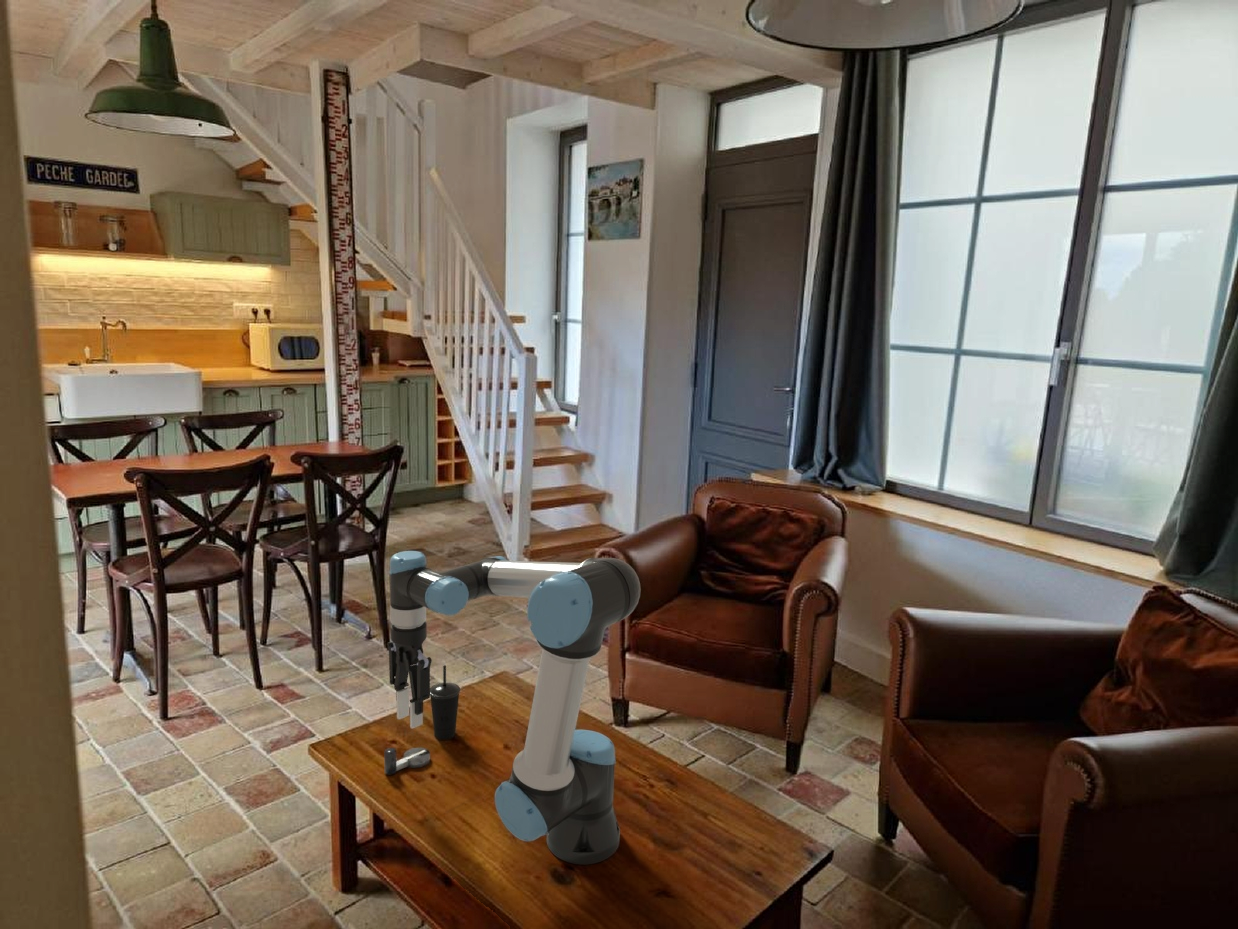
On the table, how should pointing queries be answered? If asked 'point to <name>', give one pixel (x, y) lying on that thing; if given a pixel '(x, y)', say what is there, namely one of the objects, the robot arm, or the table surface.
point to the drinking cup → (444, 708)
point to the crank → (405, 759)
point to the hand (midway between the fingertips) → (409, 721)
